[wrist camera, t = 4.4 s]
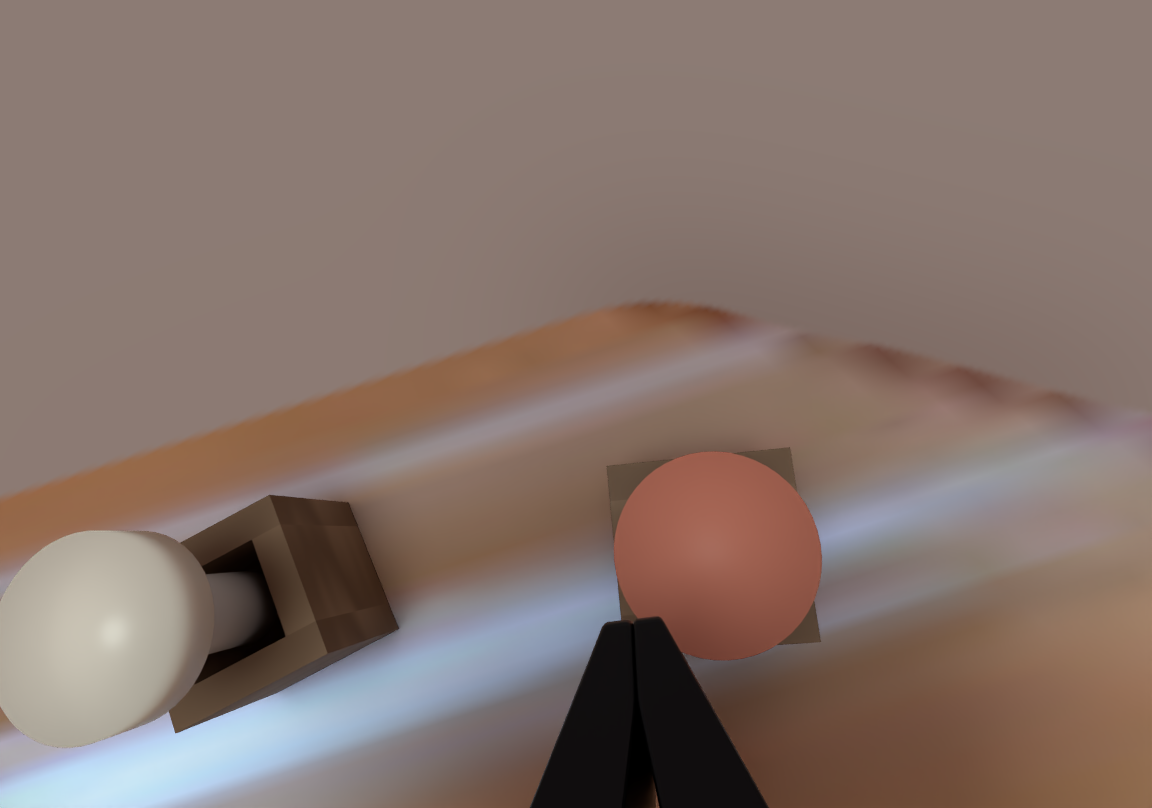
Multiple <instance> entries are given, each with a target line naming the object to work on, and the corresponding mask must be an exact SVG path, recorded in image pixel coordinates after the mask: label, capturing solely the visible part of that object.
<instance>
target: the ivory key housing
mask: <svg viewBox="0 0 1152 808" xmlns="http://www.w3.org/2000/svg"><path fill="white" fill-rule="evenodd" d="M180 544H182V545H183V546H185V547H186V548H187V549H188V550H189V551H190V552H191V553H192V554H193V555H194V557H195V558H196V559H197V560H198V562H199V563H200V565H201V567H202V568H203V570H204V572H205V574H215V573H227V572H239V571H255V572H259V573H261V574H263V575H264V576H265V578H266V581H267V584H268V587H269V590H270V592H271V595H272V598H273V601H274V604H275V607H276V609H277V612H278V615H279V618H280V621H281V623H280V621H279V618H278V615H277V616H276V619H275V621H274V623H273V625H272V627H271V628H270V630H269V631H268V632H267V633H266V634H265V635H264V636H263V637H262V638H261V639H259V640H257V641H255V642H253V643H250V644H246V645H242V646H238V647H234V648H230V649H226V650H223V651H219V652H215V653H211V654H208V656H207V659H206V662H205V664H204V666H203V668H202V670H201V673H200V674H199V676H198V678H197V679H196V681H195V683H194V684H193V686H192V687H191V689H190V690H189V691H188V692H187V694H186V695H185V696H184V697H183V698H182V699H181V700H180V701H179V702H178V703H177V705H175V706H174V707H173V708H172V709H171V710H169V713H170V717H171V720H172V724H173V727H174V730H175V733H178V732H180V731H183V730H185V729H188V728H190V727H193V726H195V725H198V724H200V723H203V722H205V721H208V720H210V719H213V718H215V717H218V716H220V715H223V714H225V713H228V712H230V711H233V710H235V709H238V708H240V707H243V706H245V705H248V704H250V703H253V702H255V701H258V700H260V699H263V698H265V697H268V696H270V695H273V694H275V693H277V692H279V691H281V690H283V689H285V688H287V687H289V686H291V685H293V684H295V683H297V682H298V681H300V680H302V679H304V678H306V677H308V676H310V675H312V674H314V673H316V672H318V671H319V670H321V669H323V668H325V667H327V666H329V665H331V664H333V663H335V662H337V661H339V660H340V659H342V658H344V657H346V656H348V655H350V654H352V653H354V652H356V651H358V650H360V649H361V648H363V647H365V646H367V645H369V644H371V643H373V642H375V641H377V640H379V639H381V638H382V637H384V636H386V635H388V634H390V633H392V632H394V631H396V630H398V626H397V624H396V621H395V619H394V616H393V614H392V611H391V609H390V606H389V604H388V601H387V599H386V596H385V594H384V591H383V589H382V586H381V584H380V581H379V579H378V576H377V574H376V571H375V569H374V566H373V564H372V561H371V559H370V556H369V554H368V551H367V549H366V546H365V544H364V541H363V539H362V536H361V534H360V531H359V529H358V526H357V524H356V521H355V519H354V516H353V514H352V511H351V509H350V506H349V504H348V503H346V502H336V501H326V500H316V499H306V498H295V497H285V496H275V495H268V496H267V497H265V498H263V499H261V500H259V501H257V502H255V503H253V504H252V505H250V506H248V507H246V508H244V509H242V510H240V511H239V512H237V513H235V514H233V515H231V516H229V517H227V518H226V519H224V520H222V521H220V522H218V523H216V524H214V525H213V526H211V527H209V528H207V529H205V530H203V531H201V532H200V533H198V534H196V535H194V536H192V537H190V538H188V539H187V540H185V541H183V542H181V543H180ZM281 624H282V626H283V629H284V632H285V635H286V637H285V635H284V632H283V629H282V626H281Z"/></svg>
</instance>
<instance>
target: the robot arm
mask: <svg viewBox="0 0 1152 808" xmlns="http://www.w3.org/2000/svg"><path fill="white" fill-rule="evenodd" d="M655 788H656V793H657V797H658V802H659V807H660V808H769V807H768V805H767V803H766V802H765V800H764V798H763V796H762V795H761V793H760V791H759V789H758V787H757V786H756V784H755V782H754V780H753V779H752V777H751V775H750V773H749V771H748V770H747V768H746V766H745V764H744V763H743V761H742V759H741V757H740V755H739V754H738V752H737V750H736V748H735V747H734V745H733V743H732V741H731V739H730V738H729V736H728V734H727V732H726V731H725V729H724V727H723V725H722V723H721V722H720V720H719V718H718V716H717V715H716V713H715V711H714V709H713V707H712V706H711V704H710V702H709V700H708V699H707V697H706V695H705V693H704V691H703V690H702V688H701V686H700V684H699V683H698V681H697V679H696V677H695V675H694V674H693V672H692V670H691V668H690V667H689V665H688V663H687V661H686V659H685V658H684V656H683V654H682V652H681V651H680V649H679V647H678V645H677V643H676V642H675V640H674V638H673V636H672V635H671V633H670V631H669V629H668V627H667V626H666V624H665V622H664V621H663V619H662V618H661V617H659V616H653V617H645V618H638V619H636V620H635V621H634V622H633V623H632V621H630V620H620V621H612V622H607V623H605V624H604V625H603V627H602V629H601V631H600V634H599V636H598V639H597V641H596V644H595V646H594V649H593V651H592V654H591V656H590V659H589V661H588V664H587V666H586V669H585V671H584V674H583V676H582V679H581V681H580V684H579V686H578V689H577V691H576V694H575V696H574V699H573V701H572V704H571V706H570V709H569V711H568V714H567V716H566V719H565V721H564V724H563V726H562V729H561V731H560V734H559V736H558V739H557V741H556V744H555V746H554V749H553V751H552V754H551V756H550V759H549V761H548V764H547V766H546V769H545V771H544V774H543V776H542V778H541V781H540V783H539V786H538V788H537V791H536V793H535V796H534V798H533V801H532V803H531V806H530V808H656V795H655Z"/></svg>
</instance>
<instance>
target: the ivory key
mask: <svg viewBox="0 0 1152 808" xmlns="http://www.w3.org/2000/svg"><path fill="white" fill-rule="evenodd" d="M276 616H277V609H276V607H275V604H274V601H273V598H272V595H271V592H270V590H269V587H268V584H267V581H266V578H265V576H264V575H263V574H261V573H259V572H255V571H239V572H227V573H215V574H205V572H204V570H203V568H202V567H201V565H200V563H199V562H198V560H197V559H196V558H195V557H194V555H193V554H192V553H191V552H190V551H189V550H188V549H187V548H186V547H185V546H183V545H182V544H180V543H179V542H178V541H176V540H174V539H172V538H170V537H168V536H166V535H163V534H160V533H156V532H149V531H84V532H78V533H74V534H71V535H68V536H65V537H62V538H60V539H58V540H56V541H54V542H52V543H51V544H49V545H47V546H46V547H44V548H43V549H41V550H40V551H39V552H38V553H36V554H35V555H34V556H33V557H32V558H31V559H30V560H29V561H28V562H27V563H26V564H25V565H24V566H23V567H22V568H21V569H20V571H19V572H18V573H17V574H16V576H15V577H14V578H13V580H12V582H11V583H10V585H9V586H8V588H7V590H6V592H5V593H4V595H3V597H2V599H1V601H0V707H1V708H2V710H3V711H4V713H5V715H6V716H7V718H8V719H9V720H10V721H11V722H12V724H13V725H14V726H15V727H16V728H17V729H18V730H20V731H21V732H22V733H23V734H24V735H26V736H28V737H29V738H31V739H33V740H34V741H37V742H39V743H42V744H44V745H48V746H53V747H61V748H72V747H81V746H85V745H88V744H92V743H95V742H98V741H101V740H104V739H106V738H109V737H112V736H115V735H117V734H120V733H123V732H126V731H128V730H131V729H134V728H137V727H140V726H142V725H145V724H147V723H149V722H152V721H154V720H156V719H157V718H159V717H161V716H162V715H164V714H166V713H167V712H168V711H169V710H171V709H172V708H173V707H174V706H175V705H177V703H178V702H179V701H180V700H181V699H182V698H183V697H184V696H185V695H186V694H187V692H188V691H189V690H190V689H191V687H192V686H193V684H194V683H195V681H196V679H197V678H198V676H199V674H200V673H201V670H202V668H203V666H204V664H205V662H206V659H207V656H208V654H211V653H215V652H219V651H223V650H226V649H230V648H234V647H238V646H242V645H246V644H250V643H253V642H255V641H257V640H259V639H261V638H262V637H263V636H264V635H265V634H266V633H267V632H268V631H269V630H270V628H271V627H272V625H273V623H274V621H275V619H276Z"/></svg>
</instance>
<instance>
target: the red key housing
mask: <svg viewBox="0 0 1152 808" xmlns="http://www.w3.org/2000/svg"><path fill="white" fill-rule="evenodd" d="M732 454H737V455H742V456H745V457H747V458H750V459H753V460H755V461H757V462H759V463H761V464H763V465H765V466H767V467H769V468H770V469H772V470H773V471H775V472H776V473H778V474H779V475H780V476H781V477H782V478H784V479H785V480H786V481H787V482H788V483H789V484H790V485H791V486H792V487H793V488H794V489H795V491H796V492H797V489H796V483H795V477H794V471H793V464H792V458H791V452H790V447H789V448H779V449H769V450H760V451H750V452H740V453H732ZM672 460H674V459H671V460H662V461H652V462H642V463H632V464H622V465H613V466H607V475H608V486H609V496H610V506H611V517H612V527H613V538H614V542H615V533H616V529H617V524H618V521H619V518H620V515H621V513H622V510H623V508H624V506H625V504H626V502H627V500H628V498H629V497H630V495H631V494H632V493H633V491H634V490H635V488H636V487H637V486H638V485H639V484H640V483H641V482H642V481H643V480H644V478H646V477H647V476H648V475H649V474H650V473H652V472H653V471H654V470H655V469H657V468H659V467H660V466H662V465H663V464H665V463H667V462H669V461H672ZM617 579H618V578H617ZM618 590H619V600H620V611H621V620H630V621H632V623H633V622H634V621H635V620H636V619H638V618H637V617H636V615H635V614H634V613H633V611H632V610H631V608H630V606H629V605H628V603H627V601H626V599H625V597H624V595H623V592H622V590H621V588H620V585H619V581H618ZM814 642H821V640H820V634H819V628H818V621H817V615H816V609H815V603H814V601H813V603H812V605H811V608H810V610H809V612H808V613H807V615H806V616H805V618H804V619H803V621H802V622H801V623H800V624H799V626H798V627H797V628H796V629H795V630H794V631H793V632H792V633H791V634H790V635H789V636H788V637H786V638H785V639H784V640H783V641H782V642H780V643H779V644H777V645H783V644H798V643H814Z"/></svg>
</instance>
